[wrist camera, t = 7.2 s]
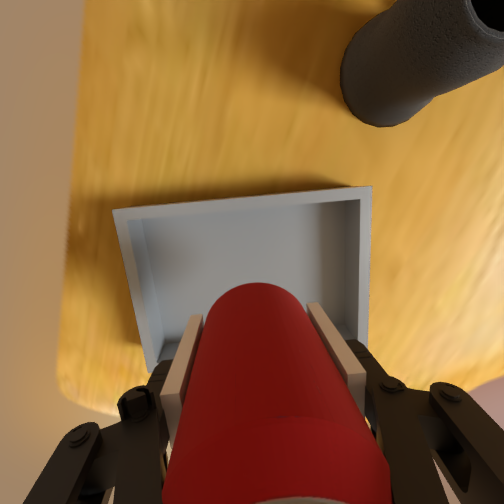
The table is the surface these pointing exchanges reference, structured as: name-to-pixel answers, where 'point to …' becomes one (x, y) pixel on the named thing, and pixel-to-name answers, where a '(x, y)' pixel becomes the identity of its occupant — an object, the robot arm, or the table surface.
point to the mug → (419, 56)
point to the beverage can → (270, 414)
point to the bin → (246, 257)
